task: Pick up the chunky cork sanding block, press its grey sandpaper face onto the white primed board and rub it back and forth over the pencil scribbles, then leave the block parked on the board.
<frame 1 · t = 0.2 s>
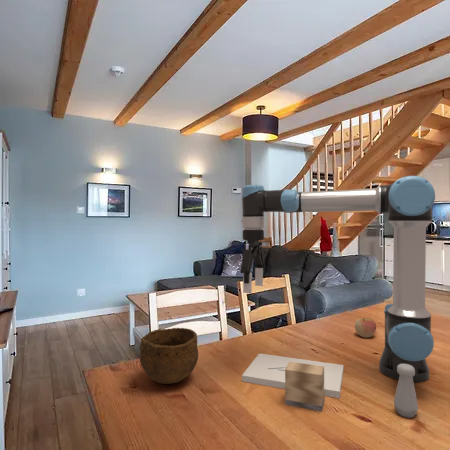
hand: (253, 289, 124), 28 cm above the table, fingers open, 13 cm apart
bowl: (169, 381, 114), on the table
apple: (365, 336, 156), on the table
salt shaker: (405, 414, 94), on the table
board: (294, 376, 117), on the table
sanding block: (304, 402, 100), on the table
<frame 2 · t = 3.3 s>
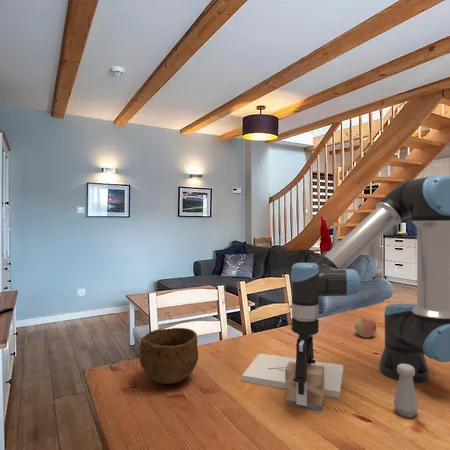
hand: (305, 394, 100), 2 cm above the table, fingers open, 11 cm apart
nothing on the table moved.
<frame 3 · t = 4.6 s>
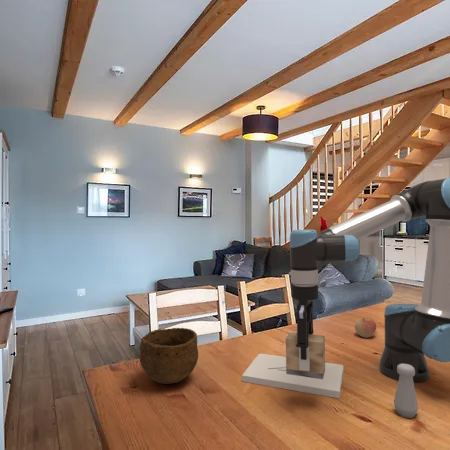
hand: (306, 365, 100), 11 cm above the table, fingers closed on sanding block, 6 cm apart
sanding block: (305, 372, 100), point 9 cm above the table, touching gripper
everything else where it was.
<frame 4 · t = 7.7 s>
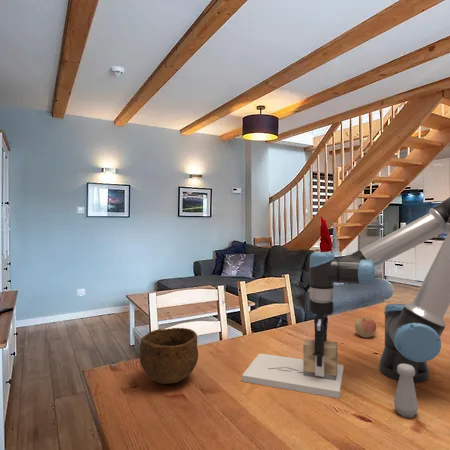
hand: (320, 371, 113), 3 cm above the table, fingers closed on sanding block, 6 cm apart
sanding block: (320, 374, 114), point 2 cm above the table, touching board, gripper
everything else where it was.
when the fingers open (3 cm above the table, at t = 18.0 s): sanding block stays where it is, resting on board.
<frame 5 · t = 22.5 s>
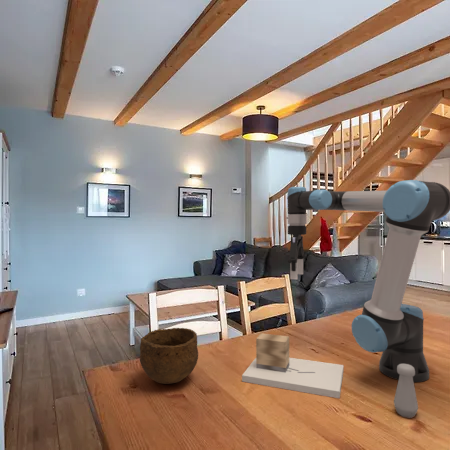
hand: (297, 276, 144), 29 cm above the table, fingers open, 13 cm apart
sanding block: (273, 366, 119), point 2 cm above the table, touching board
everything else where it was.
at the end: sanding block inside the target area on the board (7.3 cm from its centre), point 2.0 cm above the board's base; sanding block tilted 0°; the gripper is holding nothing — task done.
